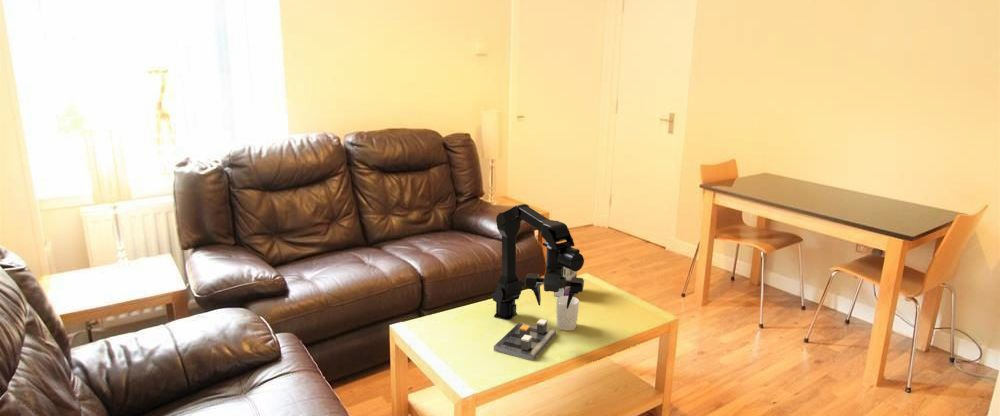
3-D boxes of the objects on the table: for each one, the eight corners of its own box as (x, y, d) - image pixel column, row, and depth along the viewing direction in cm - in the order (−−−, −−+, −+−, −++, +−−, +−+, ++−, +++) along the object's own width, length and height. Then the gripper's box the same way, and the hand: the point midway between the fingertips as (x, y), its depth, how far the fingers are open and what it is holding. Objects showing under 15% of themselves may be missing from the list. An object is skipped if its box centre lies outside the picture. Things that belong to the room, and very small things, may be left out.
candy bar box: (565, 287, 248) (567, 249, 244) (576, 289, 246) (578, 251, 241) (552, 296, 239) (554, 257, 235) (564, 299, 237) (565, 259, 232)
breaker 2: (520, 348, 193) (521, 338, 193) (524, 344, 196) (525, 334, 195) (527, 350, 192) (528, 340, 191) (531, 346, 195) (532, 336, 194)
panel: (493, 350, 196) (493, 346, 196) (519, 326, 213) (519, 321, 213) (533, 360, 190) (533, 356, 190) (556, 334, 207) (556, 330, 207)
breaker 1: (519, 337, 201) (519, 328, 200) (523, 334, 203) (523, 324, 202) (526, 339, 200) (526, 329, 199) (529, 335, 202) (530, 325, 201)
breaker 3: (536, 332, 205) (536, 322, 204) (540, 328, 207) (540, 318, 207) (543, 333, 204) (543, 324, 203) (546, 330, 206) (547, 320, 205)
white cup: (576, 332, 209) (578, 306, 206) (554, 330, 211) (555, 303, 208) (578, 322, 216) (579, 297, 214) (556, 320, 218) (557, 294, 215)
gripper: (521, 267, 188) (520, 313, 192) (581, 273, 184) (579, 320, 188) (528, 256, 198) (527, 300, 203) (585, 261, 195) (582, 305, 199)
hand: (553, 306), depth 198 cm, fingers open, 9 cm apart
